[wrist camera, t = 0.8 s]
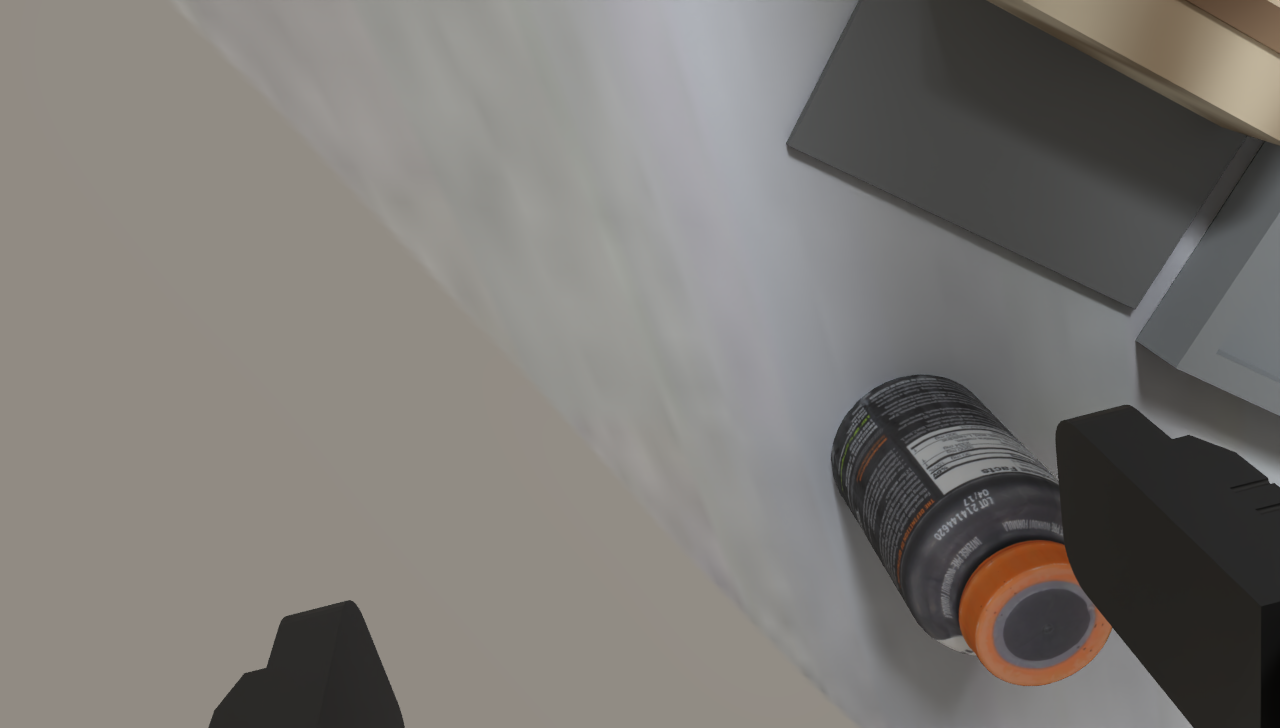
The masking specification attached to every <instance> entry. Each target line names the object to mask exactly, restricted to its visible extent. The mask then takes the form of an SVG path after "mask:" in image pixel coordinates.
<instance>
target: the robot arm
mask: <svg viewBox="0 0 1280 728" xmlns="http://www.w3.org/2000/svg"><path fill="white" fill-rule="evenodd" d="M1056 454H1057V466H1058V478H1059V491H1060V503H1061V515H1062V527H1063V538H1064V544H1065V549H1066V553H1067V557H1068V560H1069V563H1070V565H1071V568H1072V571H1073V573H1074V575H1075V577H1076V579H1077V581H1078V583H1079V585H1080V587H1081V588H1082V590H1083V591H1084V593H1085V594H1086V595H1087V596H1088V598H1089V599H1090V600H1091V601H1092V603H1093V604H1094V605H1095V606H1096V608H1097V609H1098V610H1099V611H1100V613H1101V614H1102V615H1103V616H1104V617H1105V619H1106V620H1107V621H1108V622H1109V624H1110V625H1111V626H1112V627H1113V629H1114V630H1115V631H1116V632H1117V634H1118V635H1119V636H1120V637H1121V638H1122V640H1123V641H1124V642H1125V643H1126V645H1127V646H1128V647H1129V648H1130V650H1131V651H1132V652H1133V653H1134V655H1135V656H1136V657H1137V658H1138V659H1139V661H1140V662H1141V663H1142V664H1143V666H1144V667H1145V668H1146V669H1147V671H1148V672H1149V673H1150V674H1151V676H1152V677H1153V678H1154V679H1155V680H1156V682H1157V683H1158V684H1159V685H1160V687H1161V688H1162V689H1163V690H1164V692H1165V693H1166V694H1167V695H1168V697H1169V698H1170V699H1171V700H1172V701H1173V703H1174V704H1175V705H1176V706H1177V708H1178V709H1179V710H1180V711H1181V713H1182V714H1183V715H1184V716H1185V718H1186V719H1187V720H1188V721H1189V723H1190V724H1191V725H1192V726H1193V727H1194V728H1280V487H1279V486H1277V485H1276V484H1275V483H1273V484H1270V483H1269V481H1268V478H1267V477H1266V476H1265V475H1263V474H1262V473H1261V472H1260V471H1258V470H1257V469H1256V468H1255V467H1253V466H1252V465H1251V464H1249V463H1248V462H1247V461H1246V460H1244V459H1243V458H1242V457H1241V456H1239V455H1238V454H1237V453H1236V452H1233V451H1230V450H1228V449H1225V448H1222V447H1220V446H1217V445H1214V444H1212V443H1209V442H1206V441H1204V440H1201V439H1198V438H1196V437H1193V436H1190V435H1187V436H1183V437H1179V438H1175V439H1171V438H1170V437H1169V436H1168V435H1166V434H1165V433H1164V432H1163V431H1162V430H1160V429H1159V428H1158V427H1157V426H1156V425H1154V424H1153V423H1152V422H1151V421H1150V420H1149V419H1147V418H1146V417H1145V416H1144V415H1143V414H1141V413H1140V412H1139V411H1138V410H1137V409H1135V408H1134V407H1132V406H1130V405H1122V406H1119V407H1115V408H1111V409H1107V410H1103V411H1099V412H1095V413H1091V414H1087V415H1083V416H1079V417H1075V418H1071V419H1067V420H1063V421H1061V422H1060V423H1059V424H1058V426H1057V430H1056ZM209 728H404V722H403V718H402V714H401V711H400V708H399V705H398V702H397V700H396V697H395V695H394V693H393V690H392V687H391V685H390V682H389V680H388V677H387V675H386V673H385V670H384V668H383V665H382V663H381V660H380V658H379V655H378V653H377V650H376V648H375V645H374V643H373V640H372V638H371V635H370V633H369V630H368V628H367V625H366V623H365V620H364V618H363V616H362V613H361V612H360V610H359V608H358V607H357V605H356V604H355V603H354V602H353V601H351V600H349V601H344V602H340V603H336V604H332V605H328V606H324V607H320V608H317V609H313V610H309V611H305V612H301V613H297V614H293V615H289V616H286V617H284V618H283V619H282V621H281V623H280V625H279V628H278V632H277V635H276V638H275V641H274V645H273V648H272V651H271V655H270V658H269V661H268V665H267V668H264V669H260V670H256V671H252V672H248V673H245V674H244V675H243V676H242V677H241V678H240V680H239V681H238V682H237V683H236V685H235V686H234V687H233V688H232V689H231V691H230V692H229V693H228V694H227V696H226V697H225V698H224V699H223V701H222V702H221V703H220V705H219V706H218V707H217V708H216V709H215V710H214V714H213V716H212V719H211V722H210V725H209Z"/></svg>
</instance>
